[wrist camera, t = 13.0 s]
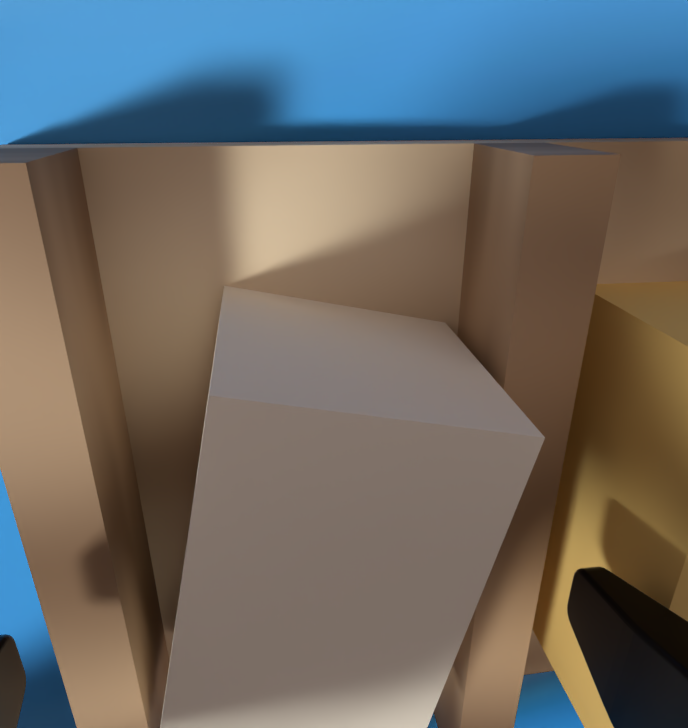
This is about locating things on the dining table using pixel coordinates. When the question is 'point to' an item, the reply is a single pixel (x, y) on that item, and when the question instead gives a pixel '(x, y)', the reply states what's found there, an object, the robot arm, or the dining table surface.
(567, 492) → the ochre bar
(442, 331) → the cream bar
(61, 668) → the comb board
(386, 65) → the dining table surface
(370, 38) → the dining table surface
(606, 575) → the robot arm
